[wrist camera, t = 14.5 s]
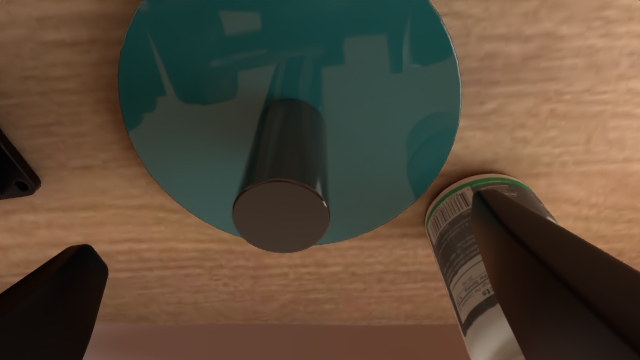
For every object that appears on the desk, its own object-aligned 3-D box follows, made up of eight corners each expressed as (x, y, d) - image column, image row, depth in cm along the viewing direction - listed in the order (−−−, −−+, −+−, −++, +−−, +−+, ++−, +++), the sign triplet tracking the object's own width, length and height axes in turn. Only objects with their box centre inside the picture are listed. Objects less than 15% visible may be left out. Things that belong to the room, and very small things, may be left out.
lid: (446, 211, 16) (498, 327, 11) (203, 243, 17) (161, 360, 12) (460, -116, 9) (596, -150, 5) (60, -28, 10) (-138, 13, 6)
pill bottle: (526, 240, 17) (667, 456, 10) (425, 256, 18) (493, 469, 11) (539, 158, 14) (743, 377, 7) (419, 180, 15) (505, 401, 8)
